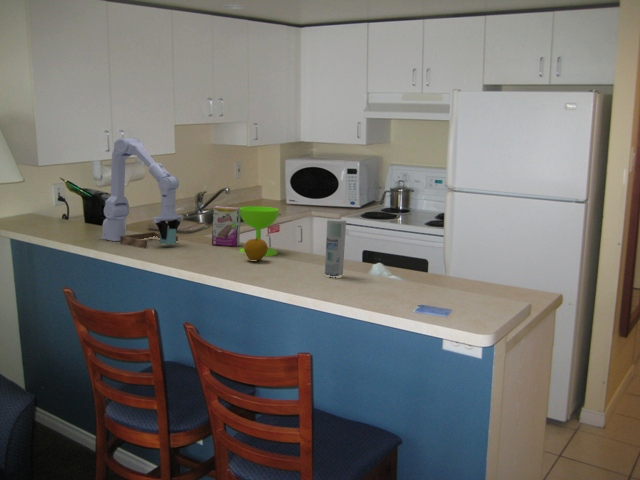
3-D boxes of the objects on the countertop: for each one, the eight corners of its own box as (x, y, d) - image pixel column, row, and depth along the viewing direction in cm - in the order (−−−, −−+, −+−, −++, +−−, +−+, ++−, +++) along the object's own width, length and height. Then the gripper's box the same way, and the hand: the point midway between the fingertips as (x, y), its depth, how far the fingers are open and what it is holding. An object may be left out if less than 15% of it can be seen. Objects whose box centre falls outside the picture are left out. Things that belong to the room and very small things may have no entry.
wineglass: (231, 253, 266) (232, 209, 263) (247, 247, 281) (248, 205, 278) (269, 257, 261) (270, 212, 258) (282, 251, 276) (284, 208, 273)
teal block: (159, 243, 273) (160, 228, 272) (167, 241, 277) (167, 227, 276) (168, 244, 271) (168, 230, 270) (175, 243, 274) (176, 229, 273)
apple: (263, 264, 247) (264, 240, 246) (240, 262, 249) (241, 238, 248) (270, 260, 256) (270, 237, 255) (247, 258, 258) (248, 235, 256)
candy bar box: (211, 245, 282) (212, 207, 280) (214, 243, 287) (215, 205, 285) (237, 247, 281) (238, 208, 279) (239, 245, 286) (241, 207, 284)
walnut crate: (120, 243, 277) (120, 236, 276) (153, 238, 291) (153, 232, 291) (145, 248, 268) (145, 240, 268) (177, 243, 283) (177, 236, 283)
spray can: (346, 276, 233) (349, 220, 230) (337, 279, 228) (340, 221, 225) (330, 273, 237) (333, 218, 234) (321, 276, 231) (323, 219, 228)
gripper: (161, 207, 263) (161, 241, 265) (188, 205, 275) (187, 238, 277) (149, 206, 267) (149, 239, 269) (176, 204, 279) (175, 235, 281)
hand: (167, 238), depth 273 cm, fingers closed on teal block, 4 cm apart
